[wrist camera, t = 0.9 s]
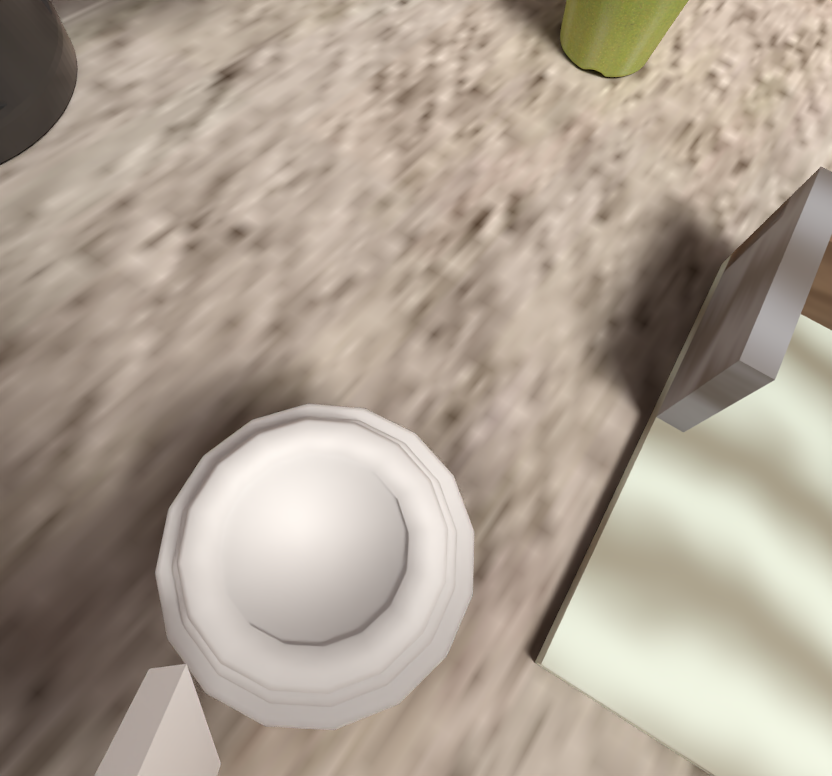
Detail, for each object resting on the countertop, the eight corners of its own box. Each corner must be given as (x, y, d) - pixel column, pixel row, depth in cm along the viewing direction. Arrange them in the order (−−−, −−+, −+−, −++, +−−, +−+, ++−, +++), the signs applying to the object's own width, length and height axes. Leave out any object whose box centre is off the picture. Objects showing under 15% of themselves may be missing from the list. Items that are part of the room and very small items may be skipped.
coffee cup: (183, 595, 26) (50, 578, 15) (322, 437, 29) (298, 322, 18) (347, 739, 24) (338, 840, 13) (474, 556, 28) (553, 514, 16)
